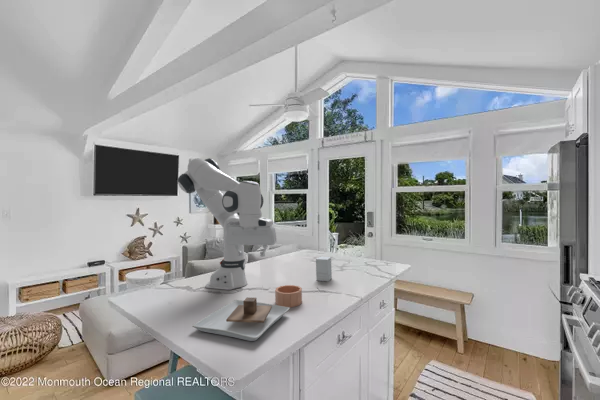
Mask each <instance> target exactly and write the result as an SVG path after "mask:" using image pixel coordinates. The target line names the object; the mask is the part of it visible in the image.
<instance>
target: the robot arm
mask: <svg viewBox="0 0 600 400" xmlns="http://www.w3.org/2000/svg"><path fill="white" fill-rule="evenodd" d="M177 183H178V186H179V189H180V190H182V192H184V193H186V194H193V193H196V194H197V195H198V197H199V199H200V200H201V201H202V203H203V204H204V205H205V207H206V208H207V209H208V211H209V212H210V213H211V214H212V215H213V217H214V218H215V219H216V220H217V222H218V223H219V224H220V226H221V227H222V228H223V259H222V260H220V262H219V265H220V267H218V268H217V269H216V270H215V271H214V272H213V273H211V275H210V279H209V281H208V282H207V283H205V288H206V289H215V290H228V291H231V290H234V289H238V288H243V287H246V286H247V285H248V281H247V277H246V276H247V275H246V272H245V269H246V259H245V246H262V248H263V250H262V251H260V253H259V257H265V256H266V251H267V249H268V246H274V245H275V244H276V243H277V231H276V228H275V227H274V226H273V225H274V220H273V219H270V218H267V217H265V216H262V214H263V213H262V210H261V209H262V208H263V204H264V197H263V194H262V191H261V186H260V184H259V183H258V182H257V181H252V180H242V181H239V180H237V179H236V178H233V177H232V176H230V175H228V174H227V173H224V172H223V171H221V168H220V166H219V164H218V162H216V161H215V160H214V159H213V158H211V157H209V158H205V159H202V158H193V159H191V160H190V161H189V163H188V165H187V170H186V171H185V172H184V173H181V174H180V175H179V177H178V178H177ZM223 192H225V193H223ZM238 213H239V214H238Z"/></svg>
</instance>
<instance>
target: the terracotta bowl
mask: <svg viewBox="0 0 600 400" xmlns="http://www.w3.org/2000/svg"><path fill="white" fill-rule="evenodd" d="M274 295H275V298H274V301H275V305H278V306H284V307H289V308H294V307H298V306H300V305H301V304H302V303H303V288H302V287H301V286H299V285H294V284H292V285H291V284H286V285H280V286H278V287H276V288H275V291H274Z"/></svg>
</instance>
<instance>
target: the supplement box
mask: <svg viewBox="0 0 600 400" xmlns="http://www.w3.org/2000/svg"><path fill="white" fill-rule="evenodd" d="M332 274H333V272H332V257H330V256H319V257H317V258H315V276H316V277H315V278H316V281H321V282H329V281H330V280H331V279H333V276H332Z"/></svg>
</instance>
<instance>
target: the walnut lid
mask: <svg viewBox="0 0 600 400" xmlns="http://www.w3.org/2000/svg"><path fill="white" fill-rule="evenodd" d="M242 301H243V302H244V305H238V306H237V308H236V309H235V310H234V311H233V312H232V313H231V315H230V316H229V317H228V318H227V319H226V322H256V323H264V321H265V319H266V318H267V316H268V314H269V312H270V310H271V308H272V306H259V305H257V302H258V301H257V297H246V298H245V299H244V300H242Z"/></svg>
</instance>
